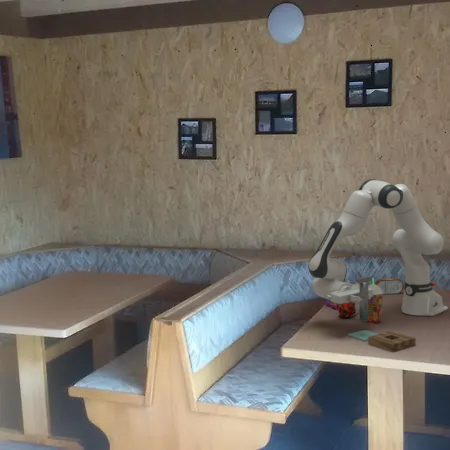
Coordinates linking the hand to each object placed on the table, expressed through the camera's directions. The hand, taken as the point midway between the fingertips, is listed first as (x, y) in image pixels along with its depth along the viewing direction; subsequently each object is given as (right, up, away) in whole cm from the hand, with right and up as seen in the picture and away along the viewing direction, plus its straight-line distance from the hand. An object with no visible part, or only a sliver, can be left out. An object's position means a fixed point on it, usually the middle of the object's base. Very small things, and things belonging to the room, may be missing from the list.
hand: (365, 298), depth 275 cm
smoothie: (+8, -13, +23) cm, 28 cm away
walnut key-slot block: (+9, -18, -9) cm, 22 cm away
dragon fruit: (-2, -12, +33) cm, 35 cm away
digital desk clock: (+27, -6, +71) cm, 76 cm away
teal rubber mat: (0, -16, +3) cm, 16 cm away
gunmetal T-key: (0, -9, +2) cm, 9 cm away
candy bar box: (-4, -10, +50) cm, 51 cm away
